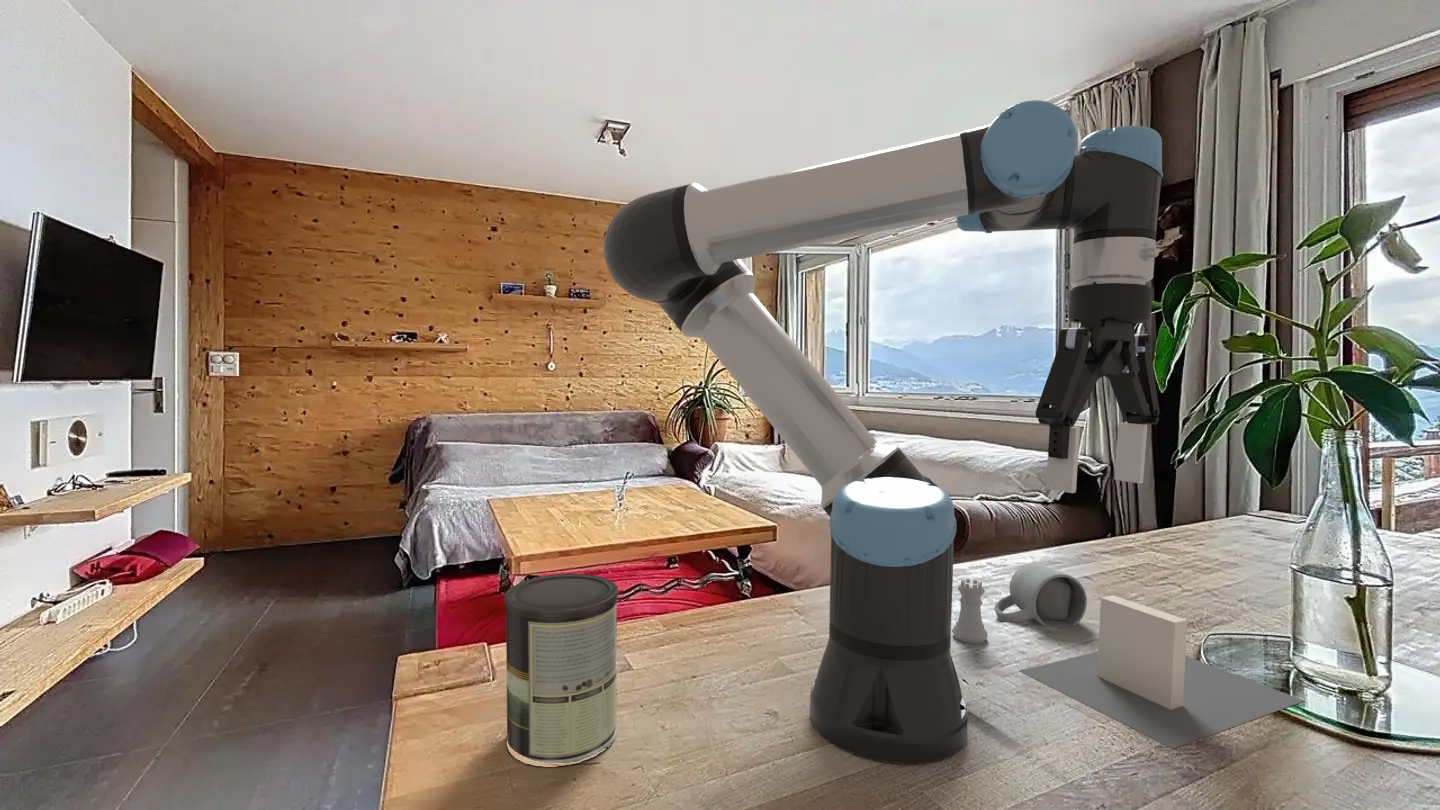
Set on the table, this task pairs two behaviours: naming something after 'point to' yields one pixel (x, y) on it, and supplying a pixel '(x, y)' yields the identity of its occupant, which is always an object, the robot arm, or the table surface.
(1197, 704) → the mat
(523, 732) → the coffee can
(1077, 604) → the ceramic mug
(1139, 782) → the table surface
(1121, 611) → the tile
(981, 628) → the rook chess piece
